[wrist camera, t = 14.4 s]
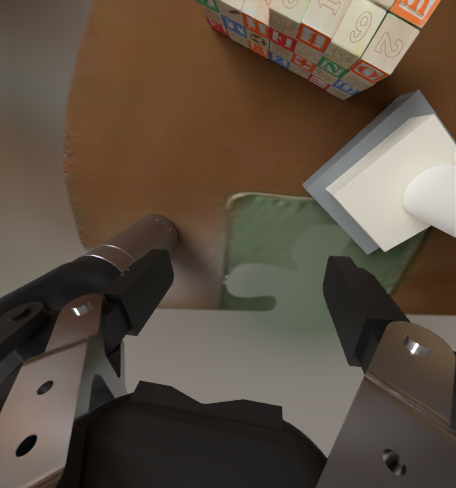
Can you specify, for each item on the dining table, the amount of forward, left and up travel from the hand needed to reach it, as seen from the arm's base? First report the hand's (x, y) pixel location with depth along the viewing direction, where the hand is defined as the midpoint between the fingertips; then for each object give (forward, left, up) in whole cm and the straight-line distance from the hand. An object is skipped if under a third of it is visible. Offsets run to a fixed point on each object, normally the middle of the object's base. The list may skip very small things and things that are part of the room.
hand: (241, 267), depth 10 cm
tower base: (+12, -14, -28) cm, 34 cm away
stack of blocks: (+15, +10, -28) cm, 34 cm away
